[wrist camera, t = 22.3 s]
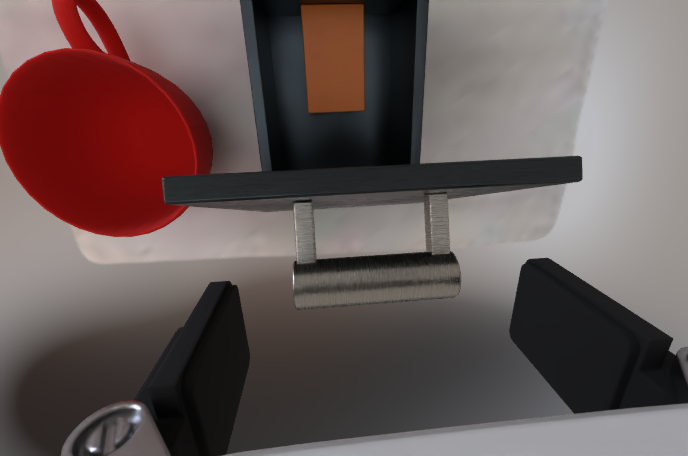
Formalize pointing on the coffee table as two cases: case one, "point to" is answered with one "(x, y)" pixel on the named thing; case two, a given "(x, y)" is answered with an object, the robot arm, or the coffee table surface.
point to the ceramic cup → (99, 131)
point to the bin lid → (370, 190)
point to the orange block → (334, 57)
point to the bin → (337, 127)
